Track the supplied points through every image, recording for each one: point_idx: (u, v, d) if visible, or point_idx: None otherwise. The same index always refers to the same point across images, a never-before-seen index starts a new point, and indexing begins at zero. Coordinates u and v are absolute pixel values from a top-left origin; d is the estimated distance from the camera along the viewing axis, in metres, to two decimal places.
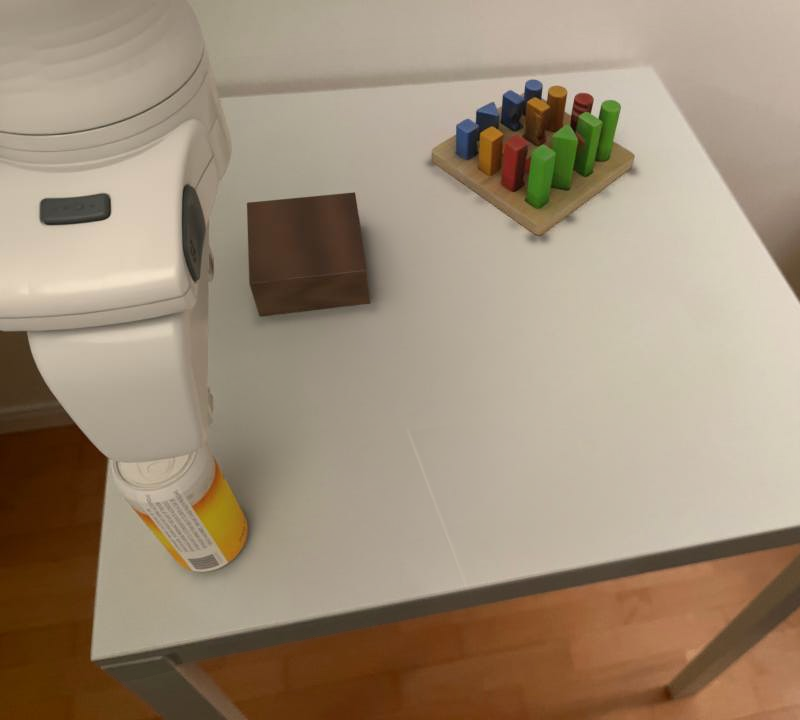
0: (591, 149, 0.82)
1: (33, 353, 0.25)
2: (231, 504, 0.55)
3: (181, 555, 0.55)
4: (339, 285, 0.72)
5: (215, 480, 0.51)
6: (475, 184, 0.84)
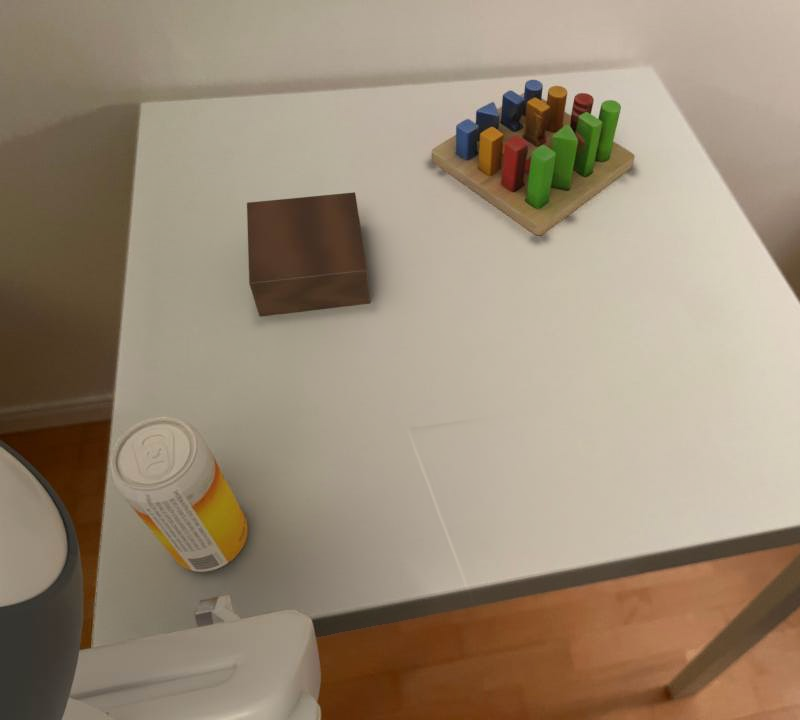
0: (591, 149, 0.82)
1: None
2: (231, 504, 0.55)
3: (181, 555, 0.55)
4: (339, 285, 0.72)
5: (215, 480, 0.51)
6: (475, 184, 0.84)
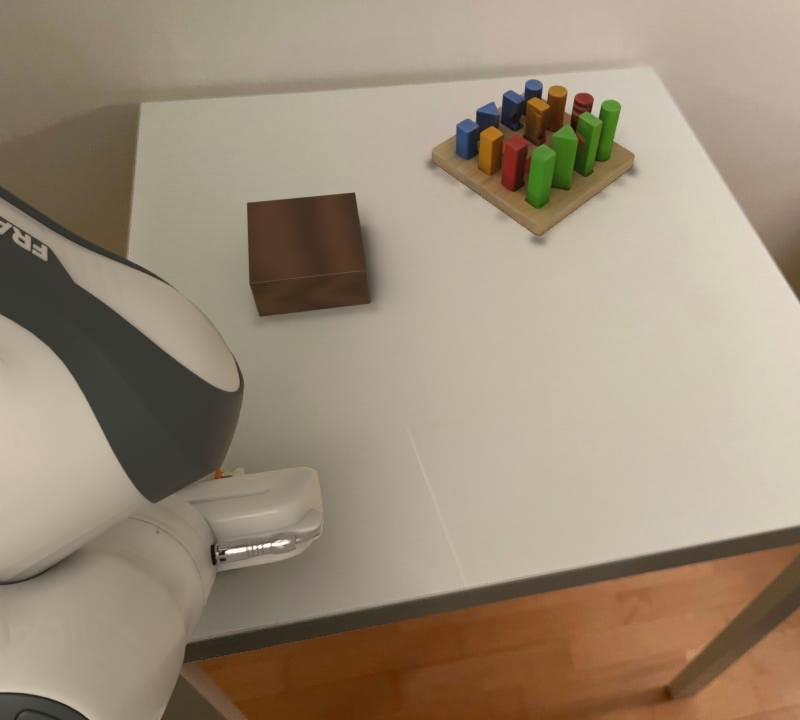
0: (591, 149, 0.82)
1: None
2: None
3: None
4: (339, 285, 0.72)
5: None
6: (475, 184, 0.84)
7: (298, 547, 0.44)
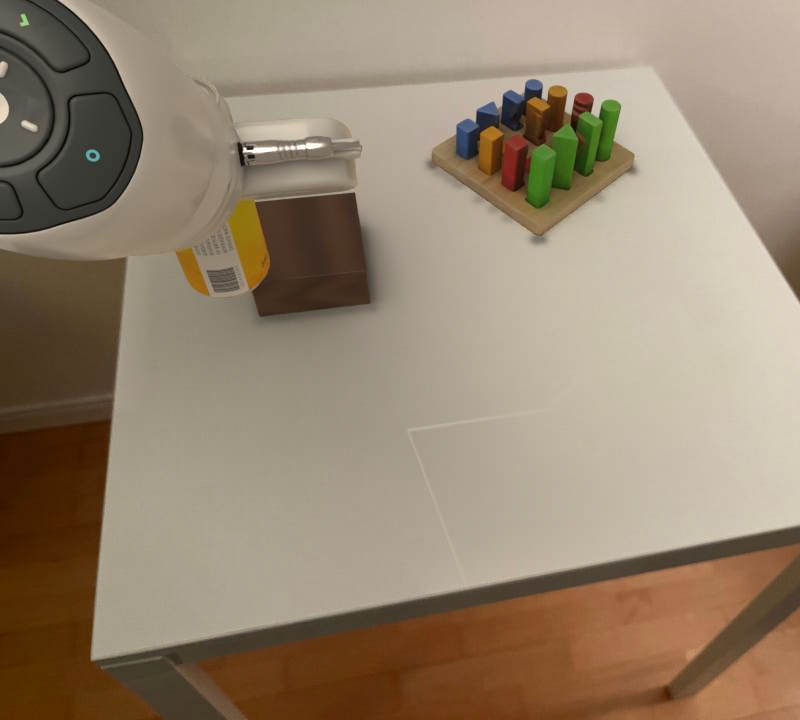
0: (591, 149, 0.82)
1: None
2: (254, 208, 0.50)
3: (199, 264, 0.50)
4: (339, 285, 0.72)
5: None
6: (476, 184, 0.84)
7: (334, 172, 0.39)
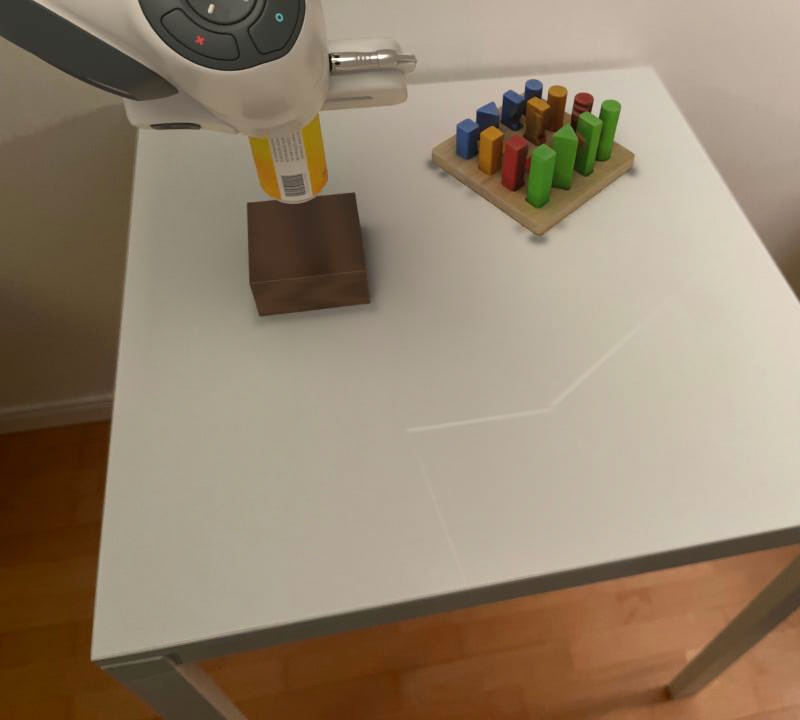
0: (591, 149, 0.82)
1: None
2: (319, 125, 0.62)
3: (276, 170, 0.62)
4: (339, 285, 0.72)
5: None
6: (476, 184, 0.84)
7: (395, 80, 0.51)
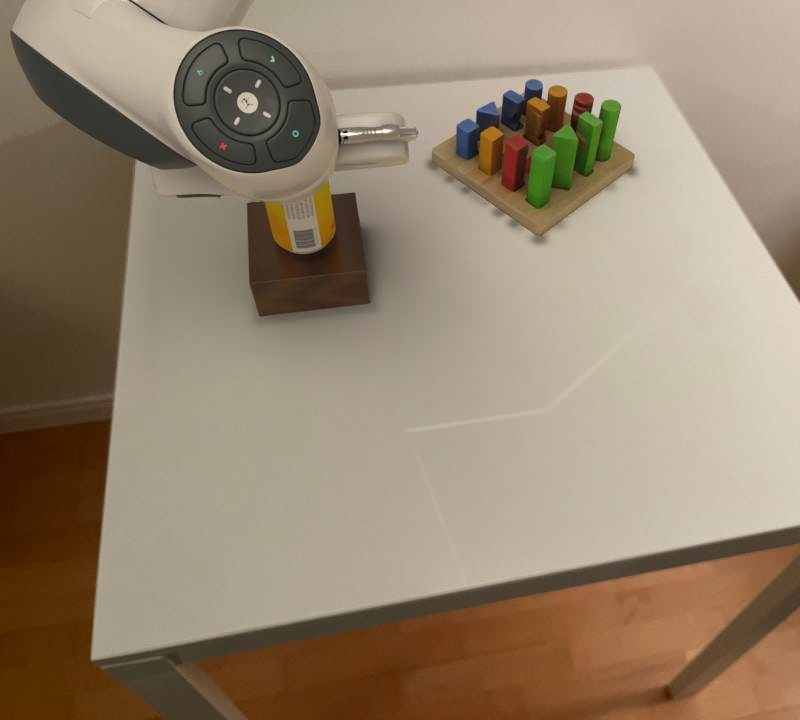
0: (591, 149, 0.82)
1: None
2: (328, 185, 0.68)
3: (288, 226, 0.68)
4: (339, 285, 0.72)
5: None
6: (476, 184, 0.84)
7: (398, 149, 0.56)
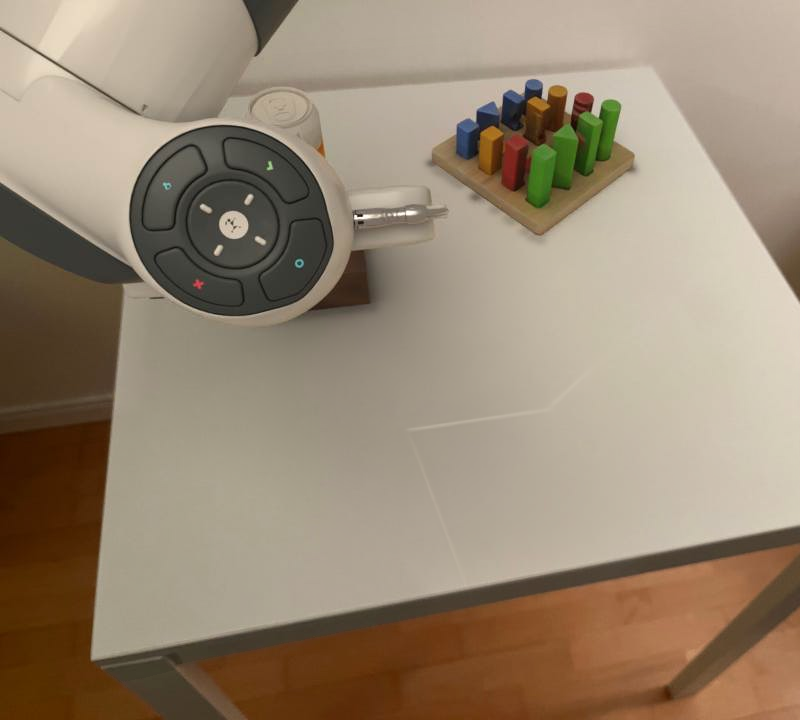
0: (591, 148, 0.82)
1: None
2: None
3: None
4: (339, 285, 0.72)
5: (322, 146, 0.64)
6: (476, 184, 0.84)
7: (424, 232, 0.46)
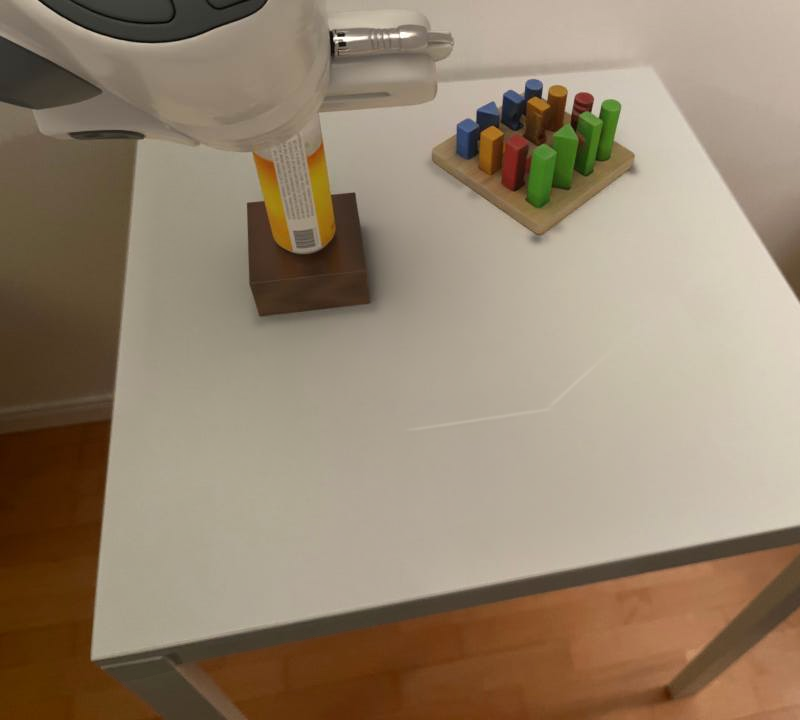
0: (591, 148, 0.82)
1: None
2: (328, 185, 0.68)
3: (288, 226, 0.68)
4: (339, 285, 0.72)
5: (322, 146, 0.64)
6: (476, 184, 0.84)
7: (423, 69, 0.36)
